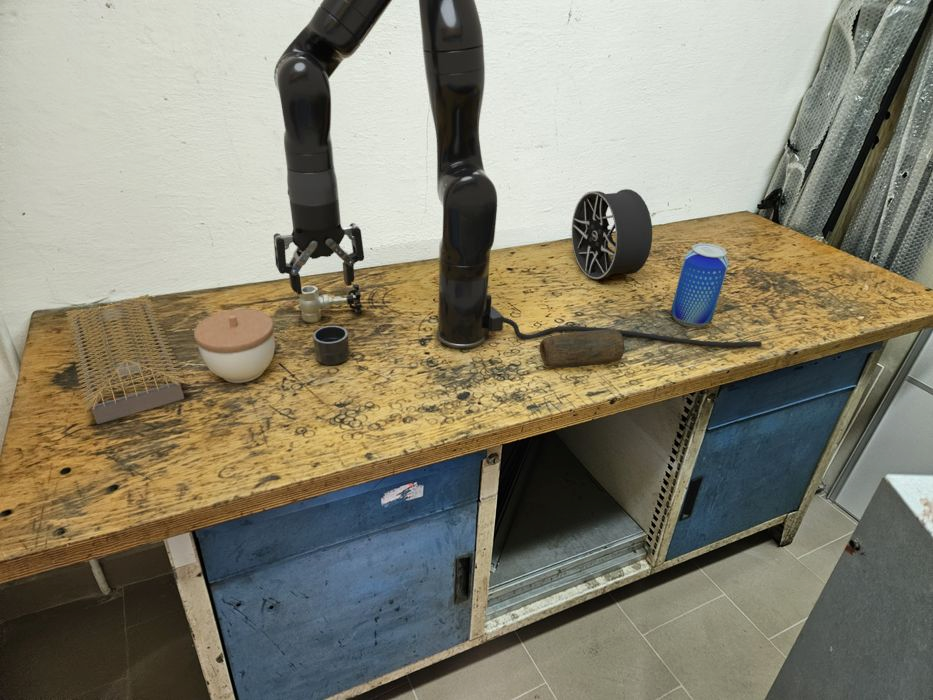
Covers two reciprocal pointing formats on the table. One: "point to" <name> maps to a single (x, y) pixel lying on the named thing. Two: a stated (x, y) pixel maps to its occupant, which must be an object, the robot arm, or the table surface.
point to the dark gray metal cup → (331, 345)
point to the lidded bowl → (236, 344)
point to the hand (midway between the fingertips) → (323, 288)
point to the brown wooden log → (582, 348)
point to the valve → (325, 302)
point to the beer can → (699, 285)
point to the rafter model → (127, 368)
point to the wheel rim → (595, 234)
